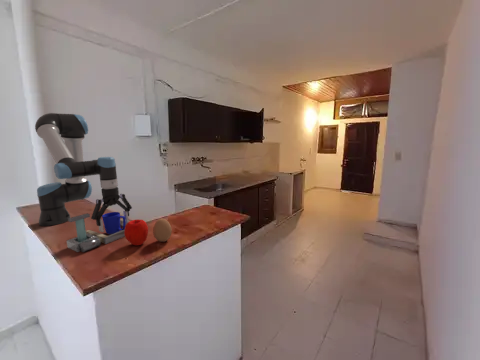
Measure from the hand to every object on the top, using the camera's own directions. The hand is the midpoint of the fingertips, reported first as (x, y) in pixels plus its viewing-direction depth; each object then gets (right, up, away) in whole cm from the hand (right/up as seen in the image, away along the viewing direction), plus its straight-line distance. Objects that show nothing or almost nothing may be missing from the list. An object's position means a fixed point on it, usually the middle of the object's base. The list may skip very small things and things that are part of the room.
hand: (114, 226), depth 121 cm
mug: (+1, -3, 0) cm, 3 cm away
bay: (0, -3, 0) cm, 3 cm away
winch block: (-5, -6, -15) cm, 17 cm away
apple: (+19, -6, -14) cm, 24 cm away
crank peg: (-7, -5, -14) cm, 17 cm away
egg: (+30, -5, -11) cm, 32 cm away
